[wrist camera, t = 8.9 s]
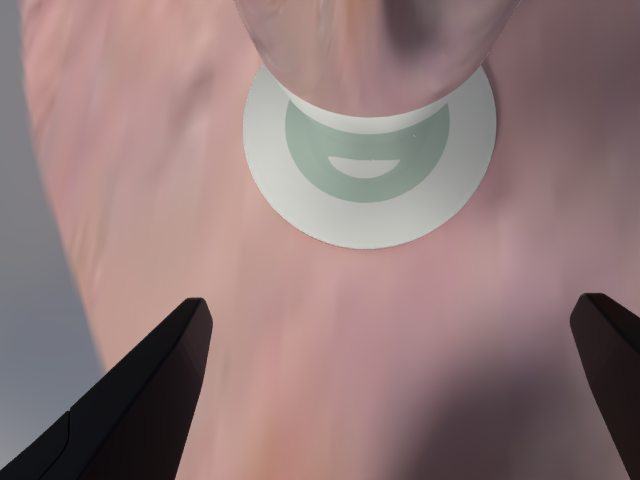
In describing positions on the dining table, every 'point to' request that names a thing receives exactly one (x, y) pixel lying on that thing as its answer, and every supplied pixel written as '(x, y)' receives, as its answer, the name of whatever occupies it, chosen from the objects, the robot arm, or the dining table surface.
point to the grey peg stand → (376, 201)
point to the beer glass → (372, 71)
